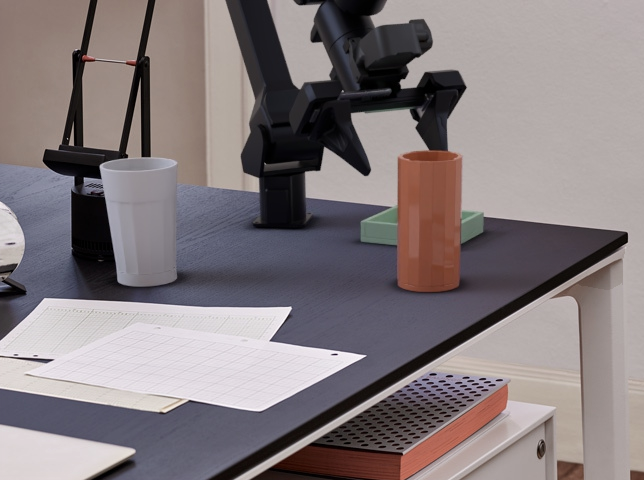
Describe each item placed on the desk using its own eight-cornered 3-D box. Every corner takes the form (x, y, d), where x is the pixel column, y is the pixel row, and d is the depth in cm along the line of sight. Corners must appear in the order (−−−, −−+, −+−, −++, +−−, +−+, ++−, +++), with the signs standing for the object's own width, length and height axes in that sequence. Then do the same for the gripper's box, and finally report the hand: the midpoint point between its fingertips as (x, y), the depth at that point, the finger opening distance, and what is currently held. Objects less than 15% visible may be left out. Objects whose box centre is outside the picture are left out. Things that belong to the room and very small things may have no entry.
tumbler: (401, 275, 143) (402, 150, 138) (462, 276, 142) (465, 150, 137) (393, 291, 138) (394, 161, 132) (456, 293, 137) (459, 162, 131)
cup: (148, 265, 149) (139, 154, 144) (200, 276, 145) (193, 162, 140) (94, 281, 144) (83, 166, 139) (146, 292, 139) (137, 174, 134)
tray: (360, 241, 158) (360, 221, 157) (398, 224, 166) (398, 204, 165) (449, 251, 153) (449, 229, 152) (483, 232, 161) (484, 211, 160)
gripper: (298, -4, 132) (353, 126, 128) (458, -13, 140) (516, 110, 136) (266, 73, 142) (317, 197, 138) (418, 61, 150) (471, 177, 145)
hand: (407, 168), depth 139 cm, fingers open, 9 cm apart
